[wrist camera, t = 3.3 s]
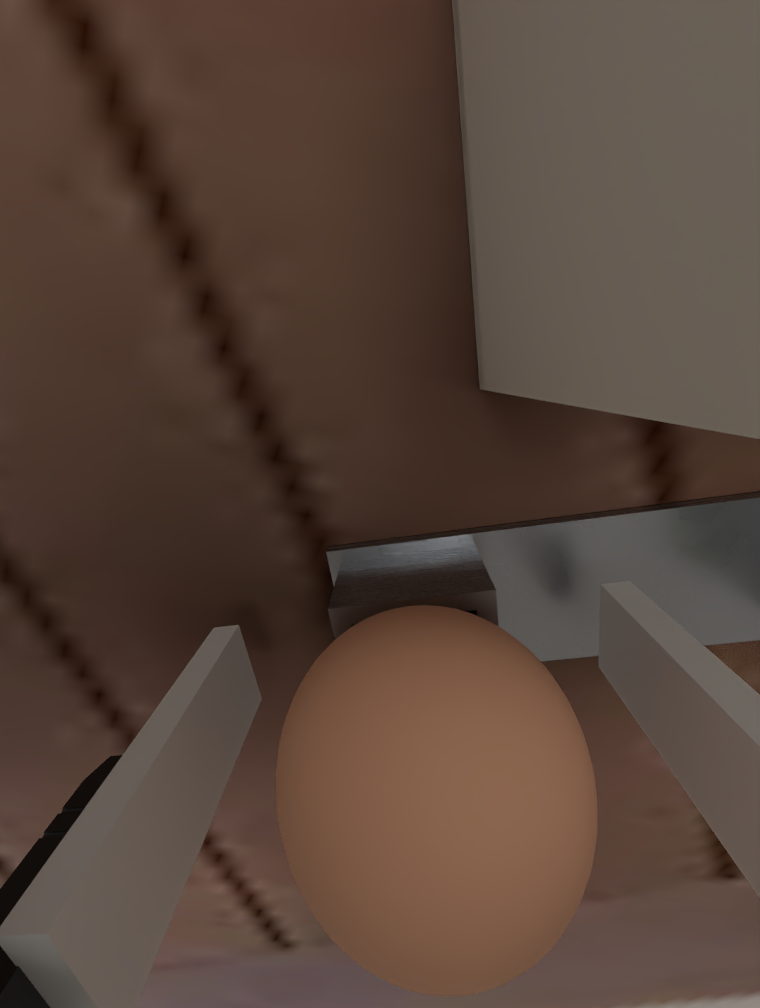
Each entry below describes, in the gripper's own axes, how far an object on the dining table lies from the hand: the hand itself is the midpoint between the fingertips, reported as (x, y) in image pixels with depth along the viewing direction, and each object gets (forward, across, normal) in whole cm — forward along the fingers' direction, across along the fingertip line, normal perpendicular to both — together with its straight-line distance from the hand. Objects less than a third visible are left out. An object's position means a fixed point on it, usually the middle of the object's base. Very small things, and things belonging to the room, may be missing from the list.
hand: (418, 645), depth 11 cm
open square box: (+2, +7, +11) cm, 13 cm away
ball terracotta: (0, 0, 0) cm, 0 cm away
